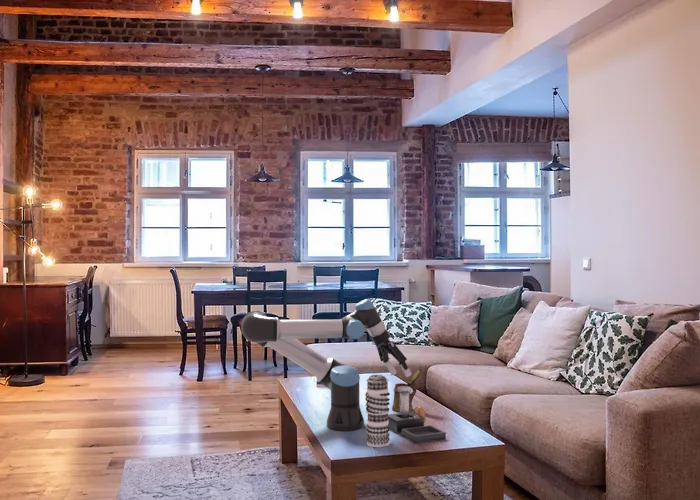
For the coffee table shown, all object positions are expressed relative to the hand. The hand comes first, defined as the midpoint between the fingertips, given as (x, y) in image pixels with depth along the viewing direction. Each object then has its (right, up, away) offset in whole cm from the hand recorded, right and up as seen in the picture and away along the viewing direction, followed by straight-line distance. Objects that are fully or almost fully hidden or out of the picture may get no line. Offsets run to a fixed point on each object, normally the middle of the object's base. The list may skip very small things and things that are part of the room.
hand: (401, 375), depth 282 cm
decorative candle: (-12, -17, -42) cm, 47 cm away
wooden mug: (+3, -17, +7) cm, 19 cm away
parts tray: (+6, -17, -35) cm, 39 cm away
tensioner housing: (+1, -17, -22) cm, 28 cm away
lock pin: (-1, -17, -23) cm, 29 cm away
